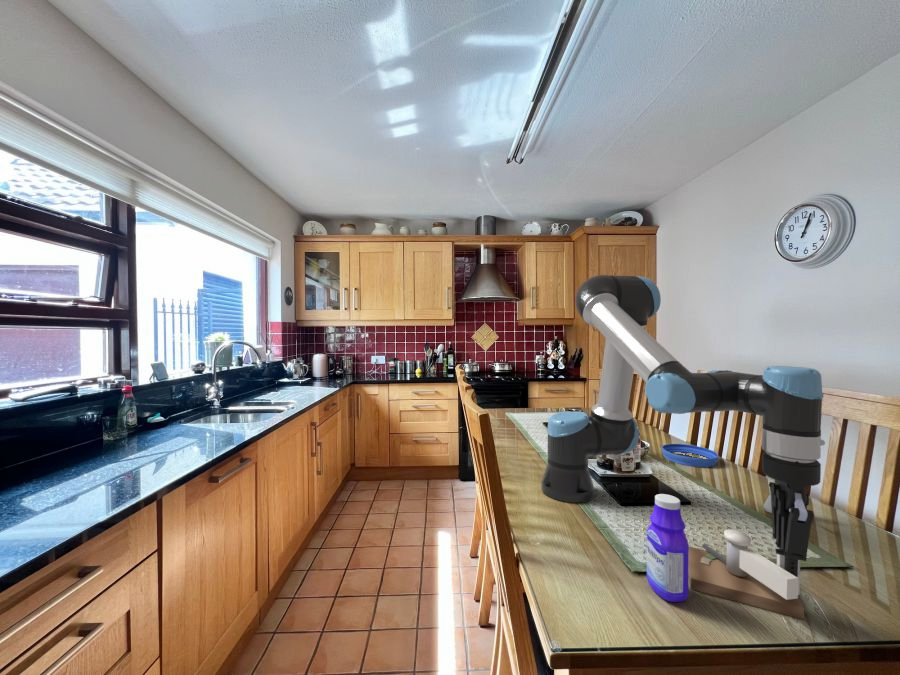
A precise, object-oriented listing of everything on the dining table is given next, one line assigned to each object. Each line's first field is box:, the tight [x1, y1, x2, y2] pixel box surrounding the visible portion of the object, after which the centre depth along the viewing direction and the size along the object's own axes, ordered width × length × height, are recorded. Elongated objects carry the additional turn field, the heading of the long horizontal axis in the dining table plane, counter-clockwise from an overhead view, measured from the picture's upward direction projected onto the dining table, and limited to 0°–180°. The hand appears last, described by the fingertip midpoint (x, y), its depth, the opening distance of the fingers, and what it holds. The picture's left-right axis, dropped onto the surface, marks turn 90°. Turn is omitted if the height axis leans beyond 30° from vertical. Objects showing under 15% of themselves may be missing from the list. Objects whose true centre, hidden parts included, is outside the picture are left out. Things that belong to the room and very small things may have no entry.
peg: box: [701, 529, 799, 600], centre depth 70 cm, size 18×4×7 cm, turn 9°
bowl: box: [661, 443, 719, 468], centre depth 141 cm, size 18×18×4 cm
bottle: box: [646, 493, 690, 603], centre depth 69 cm, size 7×6×17 cm
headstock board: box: [688, 546, 805, 620], centre depth 71 cm, size 16×12×2 cm
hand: (787, 589), depth 65 cm, fingers closed
